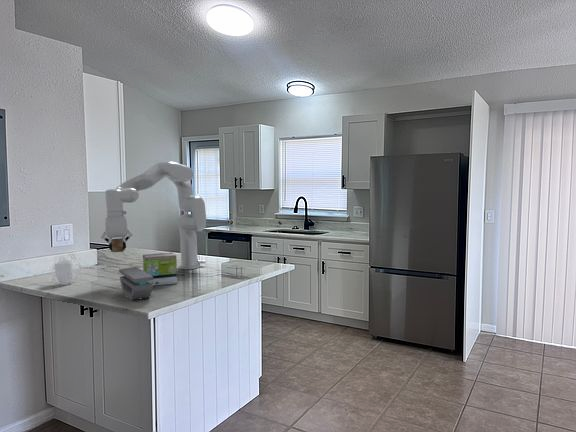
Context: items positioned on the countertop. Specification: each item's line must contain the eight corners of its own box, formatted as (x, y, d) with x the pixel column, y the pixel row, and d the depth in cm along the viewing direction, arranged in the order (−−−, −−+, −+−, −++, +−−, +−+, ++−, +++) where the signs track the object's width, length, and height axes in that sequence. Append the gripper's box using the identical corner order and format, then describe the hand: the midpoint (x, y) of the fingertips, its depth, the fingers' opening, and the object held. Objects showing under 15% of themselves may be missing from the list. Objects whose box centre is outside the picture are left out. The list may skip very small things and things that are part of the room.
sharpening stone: (120, 292, 207) (119, 269, 206) (137, 289, 212) (136, 267, 211) (135, 304, 187) (134, 279, 186) (154, 301, 191) (153, 276, 190)
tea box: (146, 287, 215) (145, 257, 214) (143, 282, 224) (142, 254, 223) (177, 283, 222) (176, 254, 221) (173, 279, 231) (171, 251, 230)
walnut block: (123, 249, 223) (122, 238, 222) (123, 251, 218) (122, 239, 218) (113, 250, 221) (112, 239, 221) (112, 252, 217) (111, 240, 216)
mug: (58, 287, 218) (56, 264, 217) (54, 284, 224) (52, 261, 223) (84, 283, 225) (82, 261, 224) (79, 280, 232) (78, 258, 231)
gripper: (133, 212, 224) (136, 247, 226) (97, 214, 219) (100, 250, 221) (133, 213, 217) (136, 250, 219) (95, 216, 212) (98, 253, 214)
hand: (118, 250), depth 220 cm, fingers closed on walnut block, 5 cm apart
